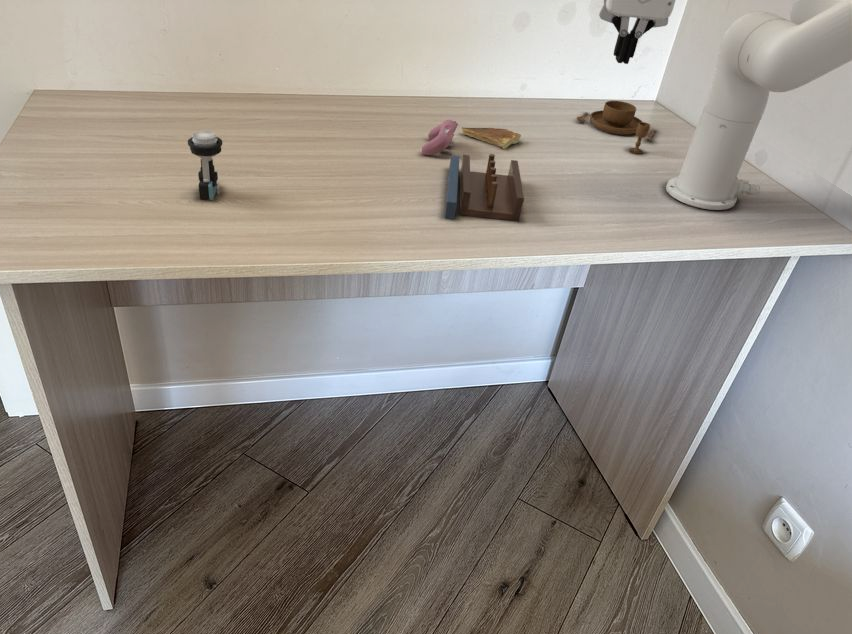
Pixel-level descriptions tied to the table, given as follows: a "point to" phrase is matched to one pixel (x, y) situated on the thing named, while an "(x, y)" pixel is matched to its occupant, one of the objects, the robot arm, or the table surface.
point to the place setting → (620, 121)
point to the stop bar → (452, 187)
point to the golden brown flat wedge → (493, 136)
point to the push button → (206, 161)
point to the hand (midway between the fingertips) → (621, 61)
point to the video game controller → (440, 137)
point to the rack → (491, 191)
